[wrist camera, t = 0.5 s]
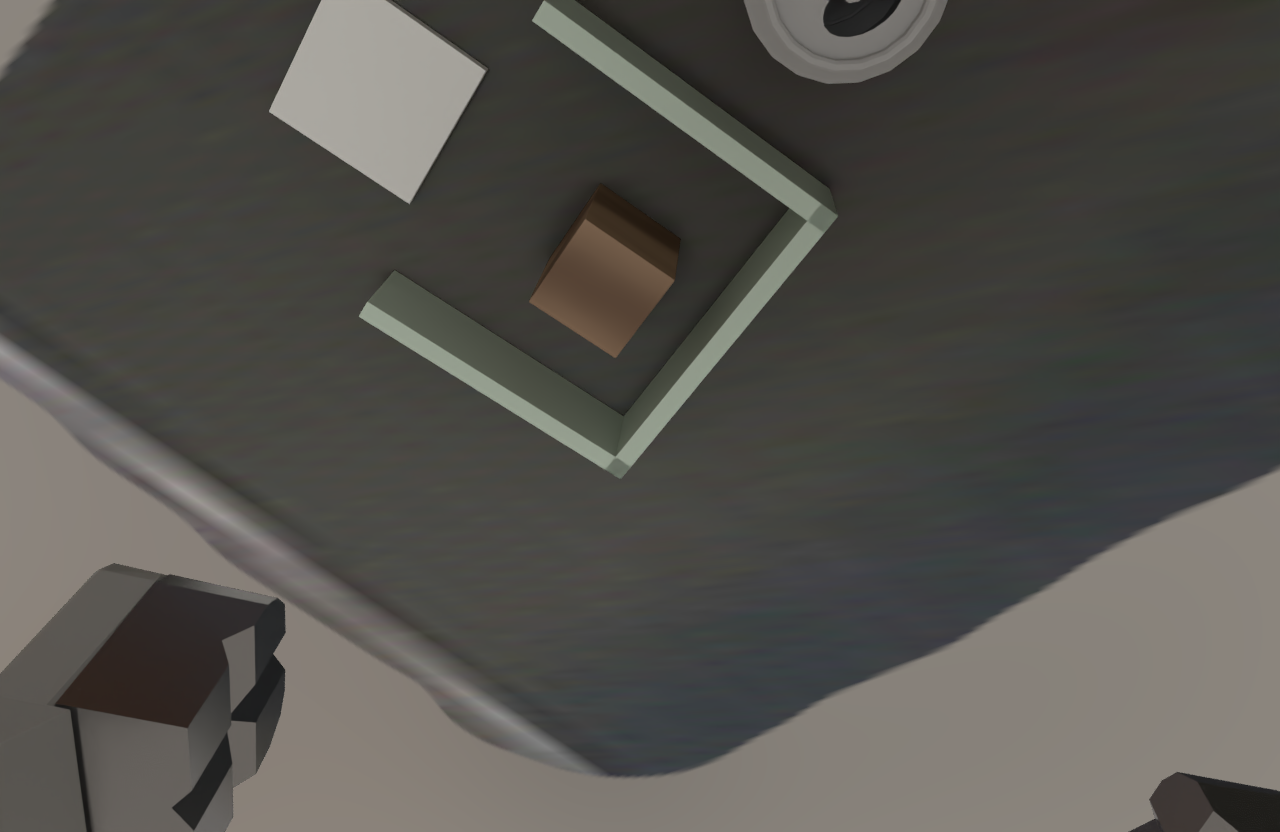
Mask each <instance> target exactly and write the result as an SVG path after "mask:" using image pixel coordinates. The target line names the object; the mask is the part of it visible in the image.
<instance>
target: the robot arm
mask: <svg viewBox="0 0 1280 832" xmlns="http://www.w3.org/2000/svg"><path fill="white" fill-rule="evenodd" d="M285 632H286V631H285V604H284V603H283V602H282V601H281V600H279V599H278V598H276V597H271V596H267V595H262V594H258V593H253V592H248V591H244V590H239V589H235V588H230V587H225V586H221V585H216V584H211V583H207V582H203V581H198V580H193V579H189V578H184V577H180V576H175V575H164V574H159V573H155V572H151V571H145V570H142V569H137V568H133V567H129V566H124V565H120V564H115V563H114V564H111V565H109V566H106V567H104V568H102V569H99V570H98V571H96V572H95V573H94V574H93V575H92V576H91V578H89V579H88V580H87V582H86V583H85V584H84V585H83V586H82V587H81V588H80V589H79V590H78V591H77V592H76V594H74V595H73V597H72V598H71V599H70V600H69V601H68V602H67V603H66V604H65V605H64V606H63V607H62V608H61V609H60V610H59V611H58V613H57V614H56V615H55V616H54V617H53V618H52V619H51V620H50V621H49V622H48V623H47V624H46V625H45V627H43V629H42V630H41V631H40V632H39V633H38V634H37V635H36V636H35V637H34V638H33V639H32V640H31V641H30V643H29V644H28V645H27V646H26V647H25V648H24V649H23V650H22V651H21V652H20V653H19V654H18V656H16V657H15V659H14V660H13V661H12V662H11V663H10V664H9V665H8V666H7V667H6V668H5V669H4V670H3V671H2V672H1V674H0V832H225V831H226V829H227V827H228V825H229V823H230V821H231V820H232V818H233V787H235V786H237V785H239V784H240V783H242V782H243V781H245V780H247V779H248V778H250V777H252V776H253V775H255V774H256V773H257V771H258V769H259V767H260V765H261V763H262V761H263V759H264V757H265V755H266V753H267V751H268V749H269V747H270V744H271V741H272V738H273V735H274V732H275V729H276V726H277V724H278V721H279V718H280V715H281V709H282V703H283V697H284V691H285V669H284V668H283V666H282V665H281V664H280V662H279V661H278V660H277V658H276V657H275V656H274V655H273V653H274V652H275V650H276V648H277V646H278V645H279V643H280V641H281V640H282V638H283V636H284V634H285ZM1149 800H1150V804H1151V807H1152V810H1153V814H1154V816H1155V819H1154V820H1151V821H1149V822H1147V823H1145V824H1143V825H1141V826H1139V827H1137V828H1135V829H1133V830H1131V831H1129V832H1280V791H1277V790H1272V789H1267V788H1261V787H1255V786H1250V785H1245V784H1239V783H1234V782H1229V781H1223V780H1218V779H1212V778H1207V777H1201V776H1196V775H1190V774H1185V773H1180V772H1176V773H1174V774H1173V775H1171V776H1169V777H1167V778H1166V779H1164V780H1162V781H1161V783H1160V784H1159V786H1158V787H1157V789H1156V790H1155V792H1154V793H1153V794H1152V796H1151V798H1150V799H1149Z"/></svg>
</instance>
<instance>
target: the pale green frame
mask: <svg viewBox="0 0 1280 832" xmlns="http://www.w3.org/2000/svg"><path fill="white" fill-rule="evenodd" d="M532 21H533V22H534V23H536V24H537V25H538V26H540V27H541V28H543V29H544V30H545V31H547V32H548V33H549V34H551V35H552V36H554V37H555V38H556V39H558V40H559V41H560V42H562V43H563V44H565V45H566V46H567V47H569V48H570V49H571V50H573V51H574V52H576V53H577V54H578V55H580V56H581V57H582V58H584V59H585V60H587V61H588V62H589V63H591V64H592V65H593V66H595V67H596V68H598V69H599V70H600V71H602V72H603V73H604V74H606V75H607V76H609V77H610V78H611V79H613V80H614V81H615V82H617V83H618V84H620V85H621V86H622V87H624V88H625V89H626V90H628V91H629V92H631V93H632V94H633V95H635V96H636V97H637V98H639V99H640V100H642V101H643V102H644V103H646V104H647V105H648V106H650V107H651V108H653V109H654V110H655V111H657V112H658V113H659V114H661V115H662V116H664V117H665V118H666V119H668V120H669V121H671V122H672V123H673V124H675V125H676V126H677V127H679V128H680V129H682V130H683V131H684V132H686V133H687V134H688V135H690V136H691V137H693V138H694V139H695V140H697V141H698V142H699V143H701V144H702V145H704V146H705V147H706V148H708V149H709V150H710V151H712V152H713V153H715V154H716V155H717V156H719V157H720V158H721V159H723V160H724V161H726V162H727V163H728V164H730V165H731V166H732V167H734V168H735V169H737V170H738V171H739V172H741V173H742V174H743V175H745V176H746V177H748V178H749V179H750V180H752V181H753V182H754V183H756V184H757V185H759V186H760V187H761V188H763V189H764V190H765V191H767V192H768V193H770V194H771V195H772V196H774V197H775V198H776V199H778V200H779V201H781V202H782V203H783V204H785V205H786V206H787V207H789V209H788V210H787V212H786V213H785V214H784V215H783V217H782V218H781V219H780V220H779V222H778V223H777V224H776V225H775V227H774V228H773V229H772V231H771V232H770V233H769V234H768V236H767V237H766V238H765V239H764V241H763V242H762V243H761V244H760V246H759V247H758V248H757V249H756V251H755V252H754V253H753V254H752V256H751V257H750V258H749V259H748V261H747V262H746V263H745V264H744V266H743V267H742V268H741V270H740V271H739V272H738V273H737V275H736V276H735V277H734V278H733V280H732V281H731V282H730V283H729V285H728V286H727V287H726V288H725V290H724V291H723V292H722V293H721V295H720V296H719V297H718V298H717V300H716V301H715V302H714V303H713V305H712V306H711V307H710V308H709V310H708V311H707V312H706V314H705V315H704V316H703V317H702V319H701V320H700V321H699V322H698V324H697V325H696V326H695V327H694V329H693V330H692V331H691V332H690V334H689V335H688V336H687V337H686V339H685V340H684V341H683V342H682V344H681V345H680V346H679V347H678V349H677V350H676V351H675V352H674V354H673V355H672V356H671V358H670V359H669V360H668V361H667V363H666V364H665V365H664V366H663V368H662V369H661V370H660V371H659V373H658V374H657V375H656V376H655V378H654V379H653V380H652V381H651V383H650V384H649V385H648V386H647V388H646V389H645V390H644V391H643V393H642V394H641V395H640V396H639V398H638V399H637V400H636V402H635V403H634V404H633V405H632V407H631V408H630V409H629V410H628V412H627V413H626V414H625V415H624V416H622V415H621V414H619V413H618V412H616V411H615V410H613V409H611V408H610V407H608V406H607V405H605V404H604V403H602V402H600V401H599V400H597V399H596V398H594V397H593V396H591V395H589V394H588V393H586V392H585V391H583V390H582V389H580V388H579V387H577V386H575V385H574V384H572V383H571V382H569V381H568V380H566V379H564V378H563V377H561V376H560V375H558V374H557V373H555V372H553V371H552V370H550V369H549V368H547V367H546V366H544V365H542V364H541V363H539V362H538V361H536V360H535V359H533V358H532V357H530V356H528V355H527V354H525V353H524V352H522V351H521V350H519V349H517V348H516V347H514V346H513V345H511V344H510V343H508V342H506V341H505V340H503V339H502V338H500V337H499V336H497V335H496V334H494V333H492V332H491V331H489V330H488V329H486V328H485V327H483V326H481V325H480V324H478V323H477V322H475V321H474V320H472V319H470V318H469V317H467V316H466V315H464V314H463V313H461V312H460V311H458V310H456V309H455V308H453V307H452V306H450V305H449V304H447V303H445V302H444V301H442V300H441V299H439V298H438V297H436V296H434V295H433V294H431V293H430V292H428V291H427V290H425V289H424V288H422V287H420V286H419V285H417V284H416V283H414V282H413V281H411V280H409V279H408V278H406V277H405V276H403V275H402V274H400V273H398V272H397V271H395V270H394V272H393V273H392V274H391V275H390V276H389V277H388V278H387V280H386V281H385V282H384V283H383V284H382V285H381V287H380V288H379V289H378V290H377V291H376V292H375V294H374V295H373V296H372V297H371V298H370V299H369V301H368V302H367V303H366V305H365V307H364V309H363V310H362V312H361V314H360V315H359V317H360V318H362V319H364V320H365V321H367V322H368V323H370V324H372V325H373V326H375V327H376V328H378V329H380V330H381V331H383V332H384V333H386V334H388V335H389V336H391V337H393V338H394V339H396V340H397V341H399V342H401V343H402V344H404V345H405V346H407V347H409V348H410V349H412V350H413V351H415V352H417V353H418V354H420V355H421V356H423V357H425V358H426V359H428V360H430V361H431V362H433V363H434V364H436V365H438V366H439V367H441V368H442V369H444V370H446V371H447V372H449V373H450V374H452V375H454V376H455V377H457V378H458V379H460V380H462V381H463V382H465V383H467V384H468V385H470V386H471V387H473V388H475V389H476V390H478V391H479V392H481V393H483V394H484V395H486V396H487V397H489V398H491V399H492V400H494V401H495V402H497V403H499V404H500V405H502V406H504V407H505V408H507V409H508V410H510V411H512V412H513V413H515V414H516V415H518V416H520V417H521V418H523V419H524V420H526V421H528V422H529V423H531V424H533V425H534V426H536V427H537V428H539V429H541V430H542V431H544V432H545V433H547V434H549V435H550V436H552V437H553V438H555V439H557V440H558V441H560V442H561V443H563V444H565V445H566V446H568V447H570V448H571V449H573V450H574V451H576V452H578V453H579V454H581V455H582V456H584V457H586V458H587V459H589V460H590V461H592V462H594V463H595V464H597V465H598V466H600V467H602V468H603V469H605V470H607V471H608V472H610V473H611V474H613V475H615V476H616V477H618V478H619V479H621V478H622V477H623V476H624V475H625V473H626V472H627V471H628V470H629V469H630V467H631V466H632V465H633V464H634V462H635V461H636V460H637V459H638V458H639V456H640V455H641V454H642V453H643V452H644V450H645V449H646V448H647V447H648V446H649V444H650V443H651V442H652V441H653V440H654V438H655V437H656V436H657V435H658V433H659V432H660V431H661V430H662V429H663V427H664V426H665V425H666V424H667V423H668V421H669V420H670V419H671V418H672V417H673V415H674V414H675V413H676V412H677V411H678V409H679V408H680V407H681V406H682V404H683V403H684V402H685V401H686V400H687V398H688V397H689V396H690V395H691V394H692V392H693V391H694V390H695V389H696V388H697V386H698V385H699V384H700V383H701V381H702V380H703V379H704V378H705V377H706V375H707V374H708V373H709V372H710V371H711V369H712V368H713V367H714V366H715V365H716V363H717V362H718V361H719V360H720V359H721V357H722V356H723V355H724V354H725V352H726V351H727V350H728V349H729V348H730V346H731V345H732V344H733V343H734V342H735V340H736V339H737V338H738V337H739V336H740V334H741V333H742V332H743V331H744V330H745V328H746V327H747V326H748V325H749V323H750V322H751V321H752V320H753V319H754V317H755V316H756V315H757V314H758V313H759V311H760V310H761V309H762V308H763V307H764V305H765V304H766V303H767V302H768V300H769V299H770V298H771V297H772V296H773V294H774V293H775V292H776V291H777V290H778V288H779V287H780V286H781V285H782V284H783V282H784V281H785V280H786V279H787V278H788V276H789V275H790V274H791V273H792V271H793V270H794V269H795V268H796V267H797V265H798V264H799V263H800V262H801V261H802V259H803V258H804V257H805V256H806V255H807V253H808V252H809V251H810V250H811V249H812V247H813V246H814V245H815V244H816V242H817V241H818V240H819V239H820V238H821V236H822V235H823V234H824V233H825V232H826V230H827V229H828V228H829V227H830V226H831V224H832V223H833V222H834V221H835V219H836V218H837V217H838V214H837V211H836V207H835V204H834V201H833V198H832V195H831V192H830V189H829V188H828V187H826V186H825V185H824V184H822V183H821V182H820V181H818V180H817V179H816V178H814V177H813V176H812V175H810V174H809V173H808V172H806V171H805V170H803V169H802V168H801V167H799V166H798V165H797V164H795V163H794V162H793V161H791V160H790V159H789V158H787V157H786V156H785V155H783V154H782V153H781V152H779V151H778V150H776V149H775V148H774V147H772V146H771V145H770V144H768V143H767V142H766V141H764V140H763V139H762V138H760V137H759V136H758V135H756V134H755V133H754V132H752V131H751V130H749V129H748V128H747V127H745V126H744V125H743V124H741V123H740V122H739V121H737V120H736V119H735V118H733V117H732V116H731V115H729V114H728V113H726V112H725V111H724V110H722V109H721V108H720V107H718V106H717V105H716V104H714V103H713V102H712V101H710V100H709V99H708V98H706V97H705V96H704V95H702V94H701V93H699V92H698V91H697V90H695V89H694V88H693V87H691V86H690V85H689V84H687V83H686V82H685V81H683V80H682V79H681V78H679V77H678V76H677V75H675V74H674V73H672V72H671V71H670V70H668V69H667V68H666V67H664V66H663V65H662V64H660V63H659V62H658V61H656V60H655V59H654V58H652V57H651V56H650V55H648V54H647V53H645V52H644V51H643V50H641V49H640V48H639V47H637V46H636V45H635V44H633V43H632V42H631V41H629V40H628V39H627V38H625V37H624V36H623V35H621V34H620V33H618V32H617V31H616V30H614V29H613V28H612V27H610V26H609V25H608V24H606V23H605V22H604V21H602V20H601V19H600V18H598V17H597V16H596V15H594V14H593V13H591V12H590V11H589V10H587V9H586V8H585V7H583V6H582V5H581V4H579V3H578V2H577V1H575V0H544V1H543V3H542V5H541V6H540V8H539V10H538V12H537V13H536V15H535V17H534V18H533V20H532Z"/></svg>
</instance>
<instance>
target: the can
mask: <svg viewBox="0 0 1280 832" xmlns="http://www.w3.org/2000/svg"><path fill="white" fill-rule="evenodd" d="M947 1H948V0H744V3H745V6H746V9H747V12H748V15H749V19H750V22H751V25H752V28H753V31H754V32H755V34H756V35H757V37H758V38H759V39H760V41H761V42H762V44H763V45H764V46H765V48H766V49H767V51H768V52H769V53H770V55H771V56H772V57H773V58H774V59H776V60H777V61H778V62H780V63H781V64H783V65H784V66H785V67H787V68H788V69H790V70H791V71H792V72H794V73H795V74H797V75H799V76H802V77H806V78H809V79H813V80H816V81H819V82H823V83H826V84H834V83H857V82H862V81H864V80H867V79H870V78H872V77H875V76H878V75H881V74H883V73H886V72H889V71H891V70H892V69H893V68H895V67H896V66H897V65H899V64H900V63H901V62H903V61H904V60H905V59H907V58H908V57H909V56H911V55H912V54H913V53H915V52H916V51H917V50H918V49H919V48H920V47H921V45H922V44H923V43H924V41H925V40H926V39H927V37H928V36H929V35H930V33H931V32H932V31H933V30H934V28H935V27H936V26H937V24H938V23H939V22H940V19H941V17H942V14H943V12H944V9H945V6H946V4H947Z"/></svg>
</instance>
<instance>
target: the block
mask: <svg viewBox="0 0 1280 832" xmlns="http://www.w3.org/2000/svg"><path fill="white" fill-rule="evenodd" d="M680 240H681V239H680V238H679V237H677V236H676V235H674V234H673V233H671V232H670V231H668V230H667V229H666V228H664V227H663V226H661V225H660V224H658V223H657V222H656V221H654V220H653V219H651V218H650V217H648V216H647V215H646V214H644V213H643V212H641V211H640V210H638V209H637V208H635V207H634V206H633V205H631V204H630V203H628V202H627V201H625V200H624V199H623V198H621V197H620V196H618V195H617V194H615V193H614V192H613V191H611V190H610V189H608V188H607V187H605V186H604V185H602V184H601V183H600V185H599V186H598V188H597V189H596V191H595V192H594V194H593V195H592V197H591V198H590V200H589V201H588V202H587V204H586V205H585V207H584V208H583V210H582V211H581V213H580V214H579V216H578V217H577V219H576V220H575V222H574V223H573V225H572V226H571V228H570V229H569V231H568V232H567V233H566V235H565V236H564V238H563V239H562V241H561V242H560V244H559V245H558V247H557V248H556V250H555V251H554V253H553V254H552V256H551V257H550V259H549V260H548V263H547V265H546V267H545V269H544V271H543V273H542V275H541V277H540V279H539V281H538V283H537V286H536V288H535V290H534V292H533V294H532V296H531V298H530V300H529V302H530V303H532V304H533V305H535V306H536V307H538V308H539V309H541V310H542V311H544V312H545V313H547V314H548V315H550V316H552V317H553V318H555V319H556V320H558V321H559V322H561V323H562V324H564V325H565V326H567V327H568V328H570V329H571V330H573V331H575V332H576V333H578V334H579V335H581V336H582V337H584V338H585V339H587V340H588V341H590V342H591V343H593V344H594V345H596V346H598V347H599V348H601V349H602V350H604V351H605V352H607V353H608V354H610V355H611V356H613V357H614V358H616V357H617V356H618V354H619V353H620V352H621V350H622V349H623V348H624V346H625V345H626V344H627V342H628V341H629V340H630V338H631V337H632V336H633V335H634V333H635V332H636V331H637V329H638V328H639V327H640V325H641V324H642V323H643V321H644V320H645V319H646V317H647V316H648V315H649V314H650V312H651V311H652V310H653V308H654V307H655V306H656V304H657V303H658V302H659V300H660V299H661V298H662V296H663V295H664V294H665V293H666V291H667V290H668V289H669V287H670V286H671V285H672V283H673V282H674V281H675V275H676V268H677V261H678V254H679V247H680Z"/></svg>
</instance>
